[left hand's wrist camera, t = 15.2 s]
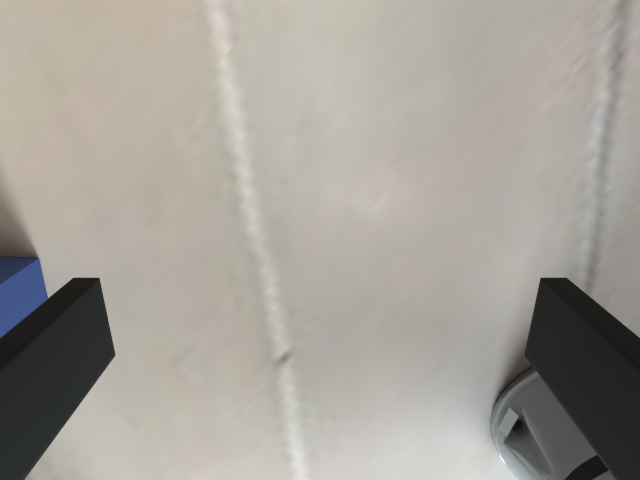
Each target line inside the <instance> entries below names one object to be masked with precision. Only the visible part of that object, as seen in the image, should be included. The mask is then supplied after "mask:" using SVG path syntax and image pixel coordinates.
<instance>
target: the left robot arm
mask: <svg viewBox="0 0 640 480" xmlns="http://www.w3.org/2000/svg"><path fill="white" fill-rule="evenodd" d="M114 356H115V351H114V346H113V341H112V337H111V332H110V327H109V322H108V317H107V313H106V308H105V303H104V298H103V293H102V288H101V284H100V279H99V278H73V279H72V280H70V281H69V282H68V283H67V284H65V285H64V286H63V287H62V288H61V289H59V290H58V291H57V292H56V293H55V294H53V295H52V296H51V297H50V298H48V299H47V300H46V301H45V302H44V303H42V304H41V305H40V306H39V307H37V308H36V309H35V310H34V311H33V312H31V313H30V314H29V315H28V316H27V317H25V318H24V319H23V320H22V321H20V322H19V323H18V324H17V325H16V326H14V327H13V328H12V329H11V330H9V331H8V332H7V333H6V334H5V335H3V336H2V337H1V338H0V480H25V478H26V477H27V475H28V474H29V473H30V471H31V470H32V469H33V467H34V466H35V465H36V463H37V462H38V460H39V459H40V458H41V456H42V455H43V454H44V452H45V451H46V450H47V448H48V447H49V445H50V444H51V443H52V441H53V440H54V439H55V437H56V436H57V434H58V433H59V432H60V430H61V429H62V428H63V426H64V425H65V424H66V422H67V421H68V419H69V418H70V417H71V415H72V414H73V413H74V411H75V410H76V408H77V407H78V406H79V404H80V403H81V402H82V400H83V399H84V398H85V396H86V395H87V393H88V392H89V391H90V389H91V388H92V387H93V385H94V384H95V382H96V381H97V380H98V378H99V377H100V376H101V374H102V373H103V372H104V370H105V369H106V367H107V366H108V365H109V363H110V362H111V361H112V359H113V358H114ZM525 356H526V358H527V359H528V361H529V362H530V363H531V365H532V366H533V367H532V368H530V369H529V370H527V371H525V372H524V373H523V374H521V375H520V376H518V377H517V378H516V379H515V380H514V381H513V382H512V383H511V384H510V385H509V386H508V387H507V388H506V389H505V390H504V392H503V393H502V394H501V396H500V397H499V399H498V401H497V403H496V405H495V407H494V409H493V413H492V417H491V427H490V428H491V435H492V439H493V441H494V444H495V446H496V448H497V450H498V452H499V455H500V456H501V458H502V460H503V461H504V463H505V464H506V465H507V467H508V468H509V470H510V471H511V472H512V473H513V474H514V475H515V476H516V477H517V478H518V479H519V480H640V338H639V337H638V336H637V335H635V334H634V333H633V332H632V331H631V330H629V329H628V328H627V327H626V326H624V325H623V324H622V323H621V322H620V321H618V320H617V319H616V318H615V317H613V316H612V315H611V314H610V313H609V312H607V311H606V310H605V309H604V308H603V307H601V306H600V305H599V304H598V303H596V302H595V301H594V300H593V299H592V298H590V297H589V296H588V295H587V294H585V293H584V292H583V291H582V290H581V289H579V288H578V287H577V286H576V285H575V284H573V283H572V282H571V281H570V280H568V279H567V278H541V279H540V284H539V288H538V293H537V298H536V303H535V308H534V313H533V317H532V322H531V327H530V332H529V337H528V341H527V346H526V351H525Z"/></svg>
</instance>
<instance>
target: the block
mask: <svg viewBox="0 0 640 480" xmlns="http://www.w3.org/2000/svg"><path fill="white" fill-rule="evenodd" d="M47 299H48V297H47V293H46V288H45V284H44V279H43V275H42V270H41V266H40V261H39V258H23V257H0V338H1V337H2V336H3V335H5V334H6V333H7V332H8V331H9V330H11V329H12V328H13V327H14V326H16V325H17V324H18V323H19V322H20V321H22V320H23V319H24V318H25V317H27V316H28V315H29V314H30V313H31V312H33V311H34V310H35V309H36V308H37V307H39V306H40V305H41V304H42V303H44V302H45V301H46V300H47Z"/></svg>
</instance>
